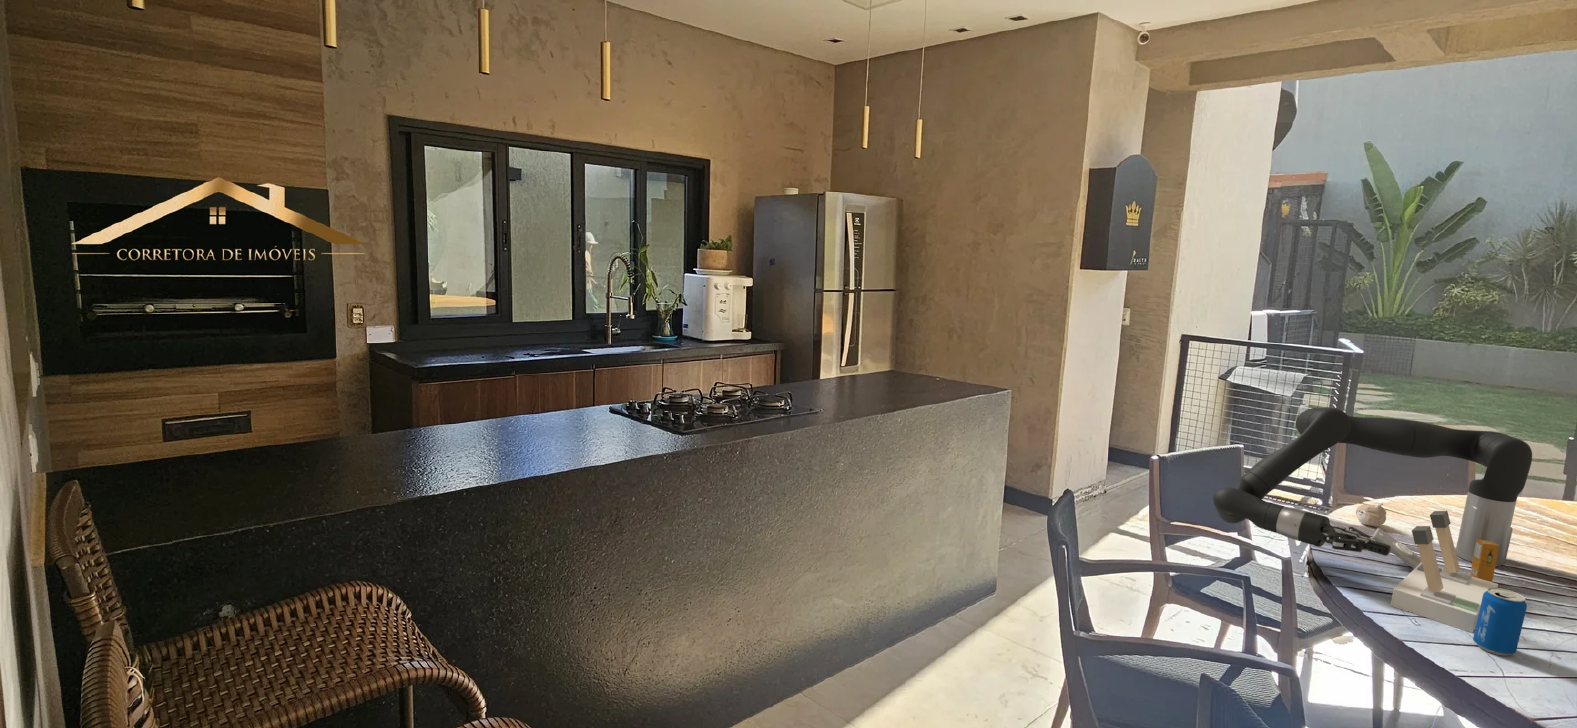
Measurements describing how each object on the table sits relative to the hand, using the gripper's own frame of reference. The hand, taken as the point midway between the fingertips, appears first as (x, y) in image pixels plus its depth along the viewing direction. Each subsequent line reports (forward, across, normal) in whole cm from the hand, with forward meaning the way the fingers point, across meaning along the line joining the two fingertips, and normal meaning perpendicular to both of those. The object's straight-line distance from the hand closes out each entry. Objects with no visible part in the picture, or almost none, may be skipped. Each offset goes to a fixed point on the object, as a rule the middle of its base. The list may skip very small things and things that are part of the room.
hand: (1389, 550), depth 174 cm
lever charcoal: (+9, +16, +6) cm, 19 cm away
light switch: (-2, +25, +11) cm, 28 cm away
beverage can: (+21, -9, +11) cm, 25 cm away
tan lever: (+9, 0, +6) cm, 11 cm away
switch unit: (+10, +8, +11) cm, 17 cm away
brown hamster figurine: (-15, +51, +11) cm, 54 cm away
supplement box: (+12, +31, +11) cm, 35 cm away
